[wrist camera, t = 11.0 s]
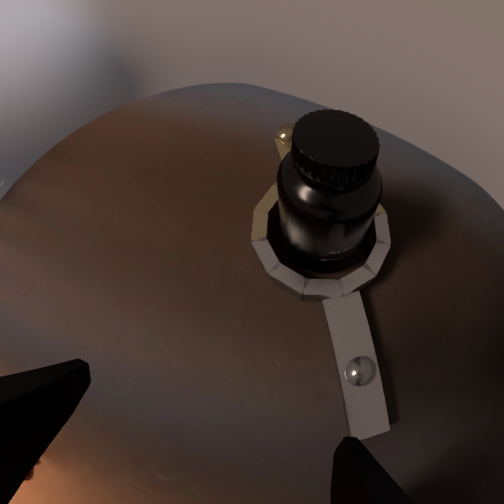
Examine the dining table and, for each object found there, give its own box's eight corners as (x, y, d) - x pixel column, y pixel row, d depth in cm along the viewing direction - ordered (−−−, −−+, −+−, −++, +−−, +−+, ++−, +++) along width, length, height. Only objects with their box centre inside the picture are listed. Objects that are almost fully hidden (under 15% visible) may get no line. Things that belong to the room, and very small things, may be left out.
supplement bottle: (340, 289, 22) (378, 209, 11) (267, 253, 24) (244, 156, 13) (369, 223, 24) (407, 122, 13) (303, 194, 26) (301, 88, 15)
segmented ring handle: (432, 408, 17) (443, 410, 15) (293, 452, 17) (293, 459, 16) (379, 221, 24) (385, 210, 22) (254, 249, 25) (250, 238, 23)
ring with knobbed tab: (381, 226, 24) (387, 214, 22) (255, 254, 24) (251, 244, 23) (335, 129, 29) (336, 116, 27) (234, 148, 30) (230, 135, 28)
